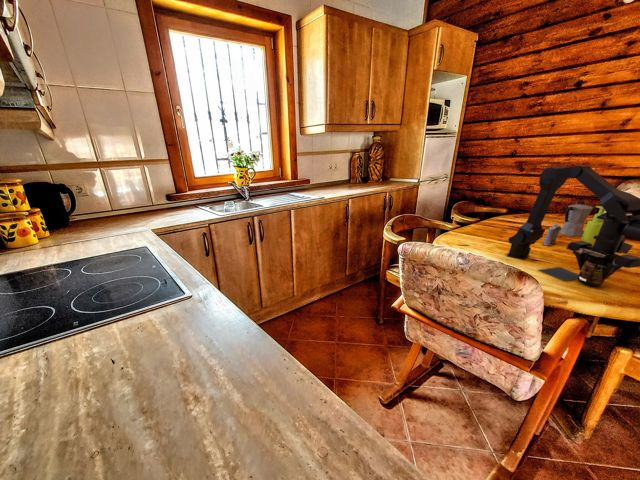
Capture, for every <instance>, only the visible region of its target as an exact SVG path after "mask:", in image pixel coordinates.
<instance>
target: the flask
mask: <svg viewBox="0 0 640 480" xmlns="http://www.w3.org/2000/svg"><path fill="white" fill-rule="evenodd" d="M561 229H562V225H560V224H558V223H556V222H552V226H550V227H548V229H547V233H546V236H545V238H544V241H543V244H542V245H543V246H546V247H550V246H552V245H553V244H555V243H556V241H557V238H558V235H559V234H560V233H559V232H560V230H561Z"/></svg>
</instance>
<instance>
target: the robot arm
mask: <svg viewBox="0 0 640 480" xmlns="http://www.w3.org/2000/svg"><path fill="white" fill-rule="evenodd" d="M569 178H574V179H575V180H576V181H578V182H579V183H580V184H582V185H583V187H585V188H586V189H588V191H590V192H592V194H593V195H595V197H597V198H598V199H599V201H600V206H602V207H603V208H604V210H605V212H604V214H602V215H600V216H597V218H598V219H603V220H604V221H603V224H602V226H601V229H600V231H599V233H598V235H597V236H594V238H593V239H596V240H595V243H594V245H593V246H592V244H591V243H587V242H584V241H580V240H577V241H570V242H569V243H568V244H567V245H566V250H569V251H571V252H572V254H574V257H575V258H576V262H577V264H578V269H579V272H580V271H581V269H582V267H583V264H584V262H585V260H586V257H587V255H588V254H590V253H594V254H597V255H600V256H604V257H607V258H610V259H613V260H614V261H613V262H611V263H607V266H606V269H605V271H604V274H603V280H605V281H606V280H607V279H609V278H610V277H611V276H612V275H614V274H615V273H616V272H617V271H618V270H620V269H622V268H625V269H632V268H639V267H640V256H637V255H633V254H629V252H630V251H631V249H632V248H633V247H634V245H632V244H630V243H627V242H625V241H626V239H628V240H632V241H636V242H640V197H638V196H637V195H635V194H632V193H630V192H628V191H624V190H621V189H619V188H617V187H616V186H614V185H613V184H611V182H609V181H608V180H607V179H606V178H604V177H603V176H602V175H600V174H599V173H598V172H597V171H595V170H594V169H593V168H592V166H591V165H588V164H579V165H574V166H569V167H567V166H550V167H546V168H545V169H543V170H542V171H541V173H540V176H539V180H538V184H539V192H538V194H537V197H536V199H535V201H534V203H533V205H532V208H531V210H530V212H529V214H528V215H529V216H528V217H527V220H526V221H525V222H524V223H523V224H522V225H521V226H520V227H519V228H518V229H517V232H516V233H515V234H514V235H512V236H510V237H508V243H509V244H510V248H509V251H508V254H506V256H507V257H511V258H515V259H520V260H525V259H527V258H528V257H529V256H530V253H531V250H532V247H531V245H535V243H536V242H537V241H539V240H541V238H543V236H544V233H545V232H546V228H543V225H542V223H543V221H544V219H545V217H546V215H547V212H548V210H549V208H550V206H551V203H552V202H553V199H554V197H555V194H556V192H557V191H558V190H559V189H560V188H561V187H562V186H564V184H566V182H567V180H568V179H569ZM621 253H623V254H621Z"/></svg>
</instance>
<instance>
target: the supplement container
mask: <svg viewBox="0 0 640 480" xmlns="http://www.w3.org/2000/svg"><path fill="white" fill-rule="evenodd" d="M613 261H614V260H613V259H610V258H607V257H604V256H600V255H597V254H594V253H590V254H588V255H587V257H586V260H585V262H584V264H583V267H582V269H581V271H580V270H579V274H578V275H579V276H578V278H577V279H576V280H577V281H578V282H579V283H580V284H582V285H584V286H589V287H595V288H596V287H597V288H598V287H602V286H603V285H604V283H605V281H606V280H603V274H604V271H605V269H606V266H607V263H611V262H613Z"/></svg>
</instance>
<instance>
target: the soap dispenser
mask: <svg viewBox="0 0 640 480" xmlns="http://www.w3.org/2000/svg"><path fill="white" fill-rule="evenodd" d="M595 208H598V213H595V214H594V215H593V217H592V220H587V223H586V224H585V228H584V229H583V234H582V236H581V238H580V240H579V241H584V242H587V243H591V244H592V246H593V245H594V243H595V240H596V239H593V238H594V236H597V235H598V233H599V231H600V229H601V226H602V224H603V221H604V220H603V219H598V218H597V216H600V215H602V214H604V213H606V211H605V210H604V208H603V207H602V206H601V205H596V206H595Z"/></svg>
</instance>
